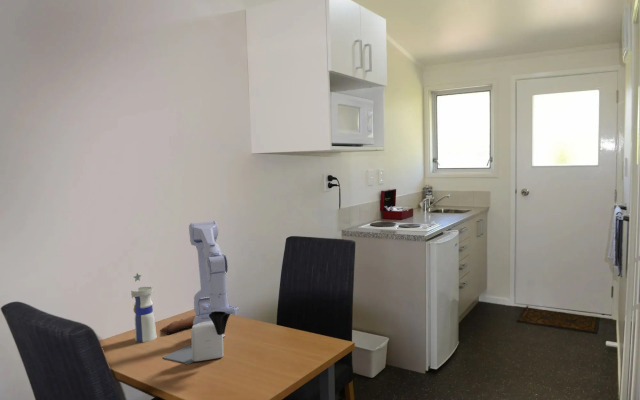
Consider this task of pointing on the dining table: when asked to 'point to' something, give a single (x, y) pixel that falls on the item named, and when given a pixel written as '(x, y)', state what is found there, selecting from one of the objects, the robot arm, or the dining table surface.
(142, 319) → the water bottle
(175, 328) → the sunglasses case
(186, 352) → the topple mat
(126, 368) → the dining table surface
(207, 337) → the photo printer
